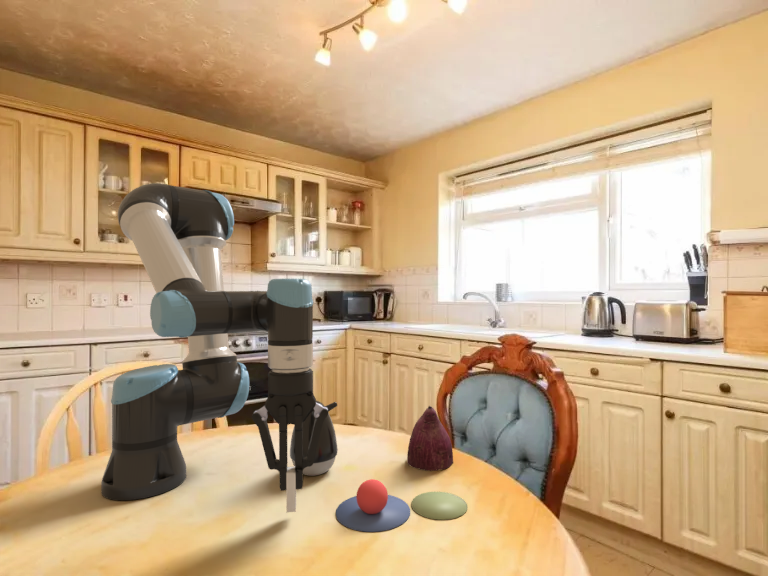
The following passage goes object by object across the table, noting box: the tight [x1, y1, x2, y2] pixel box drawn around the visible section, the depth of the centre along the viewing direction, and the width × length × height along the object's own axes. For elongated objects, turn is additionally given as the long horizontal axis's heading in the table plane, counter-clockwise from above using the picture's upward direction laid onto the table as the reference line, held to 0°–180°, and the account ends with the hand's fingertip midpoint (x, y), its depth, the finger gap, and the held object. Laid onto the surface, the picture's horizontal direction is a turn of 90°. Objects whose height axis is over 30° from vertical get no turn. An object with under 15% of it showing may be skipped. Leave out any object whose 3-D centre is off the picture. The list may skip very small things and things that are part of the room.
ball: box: [355, 478, 389, 514], centre depth 75 cm, size 6×6×6 cm
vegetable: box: [406, 405, 454, 472], centre depth 96 cm, size 10×10×15 cm
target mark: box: [335, 494, 411, 533], centre depth 75 cm, size 13×13×1 cm
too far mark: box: [410, 491, 468, 521], centre depth 77 cm, size 10×10×1 cm
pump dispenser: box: [289, 400, 338, 477], centre depth 93 cm, size 10×10×15 cm
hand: (291, 508), depth 73 cm, fingers closed
